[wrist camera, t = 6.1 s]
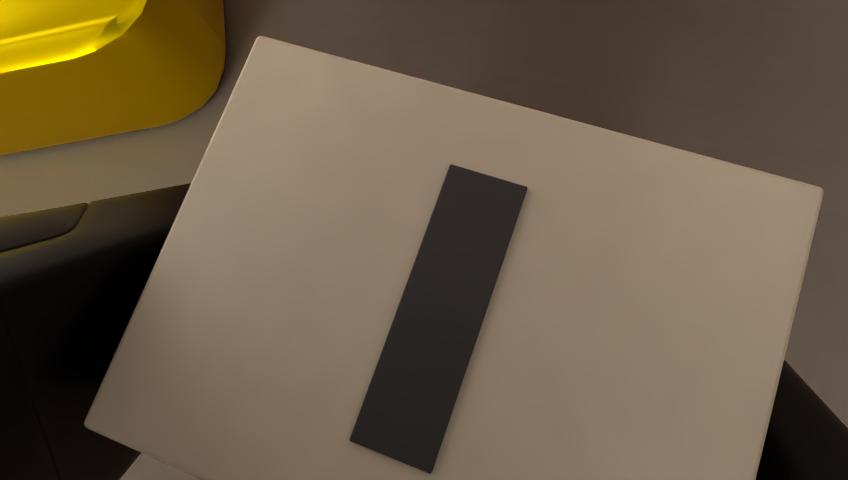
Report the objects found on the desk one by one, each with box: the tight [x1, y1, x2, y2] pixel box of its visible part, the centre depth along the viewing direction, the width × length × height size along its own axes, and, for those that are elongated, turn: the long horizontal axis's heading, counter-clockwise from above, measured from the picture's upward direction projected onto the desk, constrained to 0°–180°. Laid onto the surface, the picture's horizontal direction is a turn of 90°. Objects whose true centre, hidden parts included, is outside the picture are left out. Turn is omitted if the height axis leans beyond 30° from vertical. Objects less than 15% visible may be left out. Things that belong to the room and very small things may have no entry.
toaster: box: [84, 36, 824, 480], centre depth 10 cm, size 6×6×10 cm
